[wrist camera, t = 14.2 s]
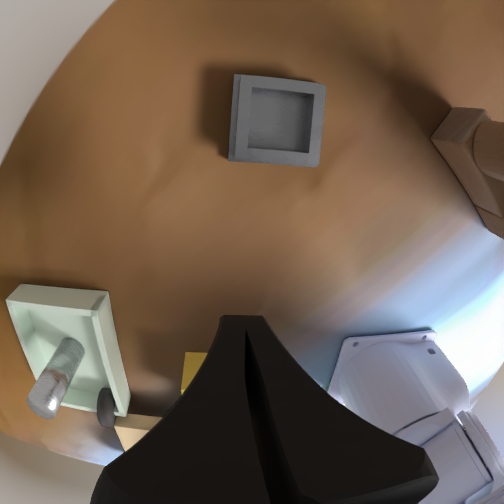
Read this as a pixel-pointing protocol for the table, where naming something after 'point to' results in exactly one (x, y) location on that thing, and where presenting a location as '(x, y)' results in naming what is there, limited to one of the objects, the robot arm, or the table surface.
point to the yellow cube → (191, 367)
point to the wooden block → (476, 160)
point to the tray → (75, 326)
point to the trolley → (123, 420)
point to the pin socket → (276, 121)
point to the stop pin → (56, 378)
